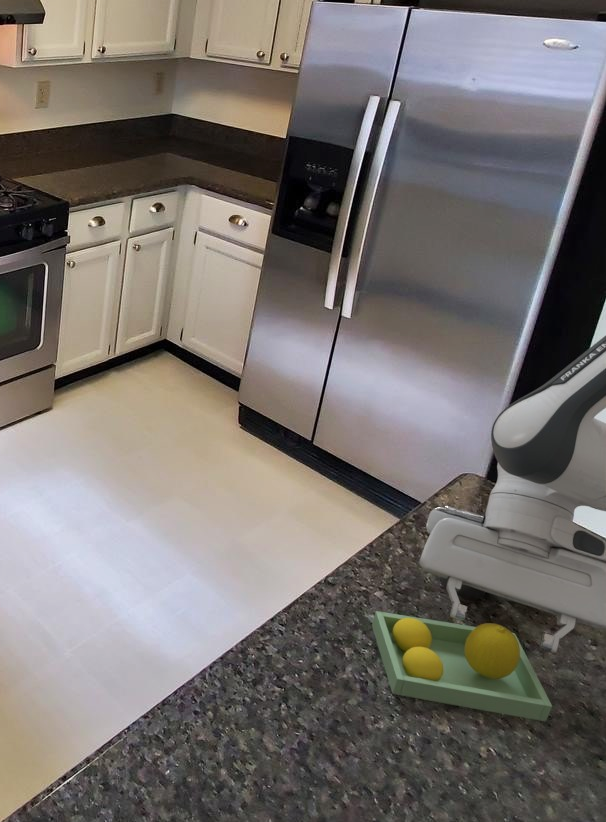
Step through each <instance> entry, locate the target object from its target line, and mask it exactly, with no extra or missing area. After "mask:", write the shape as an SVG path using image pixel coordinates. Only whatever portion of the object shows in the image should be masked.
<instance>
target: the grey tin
mask: <svg viewBox="0 0 606 822" xmlns="http://www.w3.org/2000/svg"><path fill="white" fill-rule="evenodd" d="M439 581H440V585H442V587H443V588H444V589H445V590H446V591H447V589H446V586H447V582H448V579H446V578H443V577H440V576H439ZM456 593H457V595H458V598H461V599H465V600H471V601H477V600H481V599H483V598H484V597H485V595H486V593H487V592H485V591H482V590H479V589H476V588H473V587H470V586H467V585H464V584H462V585H461V589H460V590H459V591H456Z"/></svg>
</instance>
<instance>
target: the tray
mask: <svg viewBox="0 0 606 822" xmlns="http://www.w3.org/2000/svg"><path fill="white" fill-rule="evenodd" d="M403 618H414V619H417V620H419V621H421V622H422V623H424V624H425V625H426V626H427V627H428V629H429V630H430V633H431V636H432V642H431V645H430V647H429V648H428V649H430V650H432V651H433V652H435V653H436V654H437V655H438V656H439V658H440V659H441V661H442V664H443V675H442V677H441V678H440V680H439V681H432V680H426V679H421V678H415V677H409V676H408V675H407V674H406V672H405V671H404V668H403V664H402V660H403V656H404V654H405V653H406V651H404V650H402V649H401V648H400V647H399V646H398V645H397V644H396V642H395V641H394V638H393V627H394V625H395V624H396V623H397V622H398V621H399V620H401V619H403ZM476 627H477V626H472V625H466V624H459V623H453V622H448V621H447V622H446V621H441V620H434V619H430V618H429V619H428V618H423V617H415V616H409V615H404V614H398V613H391V612H384V611H377V610H376V611H375V612H374V616H373V619H372V624H371V628H372V630H373V634H374V637H375V641H376V643H377V647H378V651H379V655H380V657H381V661H382V664H383V668H384V671H385V674H386V676H387V680H388V683H389V687H390V690H391V694H392V695H397V696H402V697H407V698H413V699H420V700H424V701H430V702H436V703H441V704H445V705H451V706H452V705H453V706H459V707H463V708H469V709H475V710H480V711H486V712H489V713H490V712H491V713H497V714H503V715H506V716H511V717H512V716H513V717H519V718H523V719H530V720H533V721H535V720H536V721H539V722H547V720H548V717H549V716H550V713H551V711H552V708H553V705H552V703H551V701H550V699H549V697H548V695H547V693H546V691H545V689H544V687H543V685H542V683H541V681H540V679H539V677H538V675H537V673H536V671H535V670H534V668H533V665H532V663H531V662H530V660H529V658H528V655H527V654H526V652H525V649H523V647H522V645H521V642H520V641H519V638H518V637H517V635H516V633H515V632H512V634H513V635H514V636H515V637H516V639H517V641H518V643H519V648H520V657H519V661H518V665H517V667H516V668H515V670H514V671H513V672H512V673H511V674H510V675H508V676H506V677H504V678H500V679H492V678H487V677H484V676H482V675H480V674H478V673H477V672H476V671H474V670H473V668H472V667H471V666H470V665H469V663H468V662H467V659H466V656H465V651H464V650H465V642H466V639H467V637H468V636H469V634H470V633H471V632H472V630H473V629H474V628H476Z"/></svg>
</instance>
